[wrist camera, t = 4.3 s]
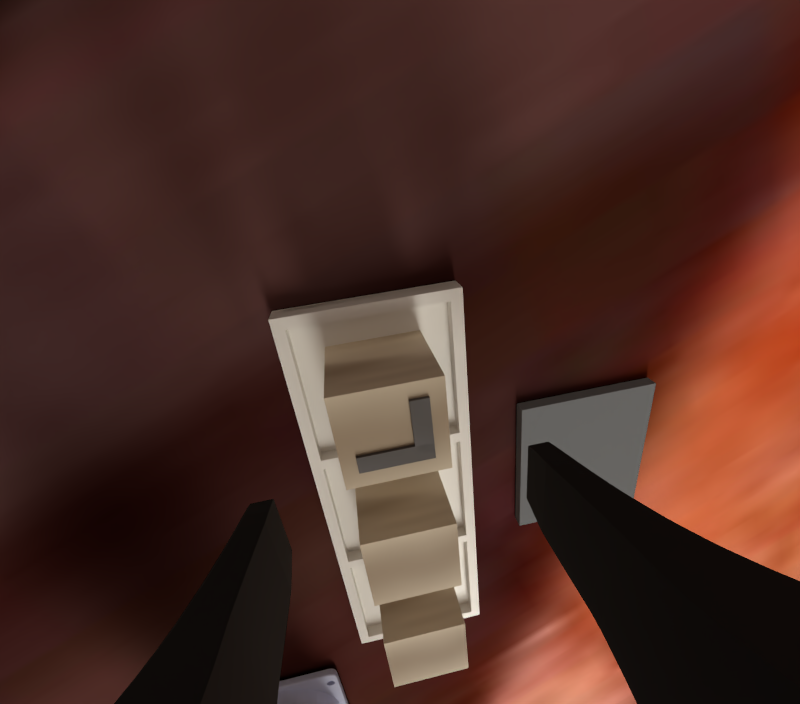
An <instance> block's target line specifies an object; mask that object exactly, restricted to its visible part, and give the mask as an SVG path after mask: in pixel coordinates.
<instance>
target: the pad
mask: <svg viewBox="0 0 800 704" xmlns="http://www.w3.org/2000/svg"><path fill="white" fill-rule="evenodd" d="M655 386H656V383H655V382H653V381H652V380H650V379H649V378H643V379H638V380H633V381H628V382H623V383H618V384H613V385H608V386H603V387H598V388H593V389H588V390H583V391H578V392H573V393H568V394H563V395H558V396H553V397H548V398H542V399H537V400H532V401H527V402H522V403H517V427H516V501H515V518H516V520H517V522H518V523H519V525H525V524H529V523H533V522H537V520H536V518H535V516H534V514H533V511H532V509H531V507H530V505H529V502H528V500H527V467H528V446H529V445H534V444H539V443H544V442H550V443H551V444H553V445H554V446H556V447H557V448H559V449H560V450H562V451H563V452H564V453H566V454H567V455H569V456H570V457H572V458H573V459H574V460H576V461H577V462H579V463H580V464H582V465H583V466H585V467H586V468H587V469H589V470H590V471H592V472H593V473H595V474H596V475H598V476H599V477H601V478H602V479H604V480H605V481H607V482H608V483H610V484H611V485H613V486H614V487H616V488H617V489H619V490H621V491H622V492H624V493H625V494H627V495H629V496H630V497H632V498H634V493H635V488H636V483H637V477H638V472H639V467H640V462H641V457H642V452H643V447H644V442H645V437H646V432H647V426H648V421H649V416H650V411H651V406H652V401H653V396H654V391H655Z"/></svg>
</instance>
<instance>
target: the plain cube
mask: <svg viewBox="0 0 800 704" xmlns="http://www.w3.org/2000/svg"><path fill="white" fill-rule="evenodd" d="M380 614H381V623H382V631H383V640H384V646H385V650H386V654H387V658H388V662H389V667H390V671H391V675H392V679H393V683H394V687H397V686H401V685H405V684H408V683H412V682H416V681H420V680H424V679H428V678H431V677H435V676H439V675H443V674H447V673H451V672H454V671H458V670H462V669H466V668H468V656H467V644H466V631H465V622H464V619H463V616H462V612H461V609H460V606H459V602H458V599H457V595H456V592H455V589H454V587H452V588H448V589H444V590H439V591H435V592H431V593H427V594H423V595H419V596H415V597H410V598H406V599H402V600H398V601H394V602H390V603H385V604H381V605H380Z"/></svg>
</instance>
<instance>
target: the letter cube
mask: <svg viewBox="0 0 800 704" xmlns="http://www.w3.org/2000/svg"><path fill="white" fill-rule="evenodd" d="M324 401H325V406H326V410H327V414H328V418H329V422H330V426H331V430H332V434H333V438H334V442H335V446H336V450H337V455H338V459H339V463H340V467H341V471H342V475H343V479H344V483H345V487H346V490H350V489H354V488H359V487H364V486H369V485H373V484H378V483H383V482H387V481H392V480H397V479H402V478H406V477H411V476H416V475H421V474H425V473H430V472H435V471H439V470H444V469H449V468H452V457H451V444H450V432H449V419H448V407H447V394H446V382H445V375H444V373H443V371H442V369H441V367H440V366H439V364H438V362H437V360H436V358H435V357H434V355H433V353H432V351H431V349H430V347H429V346H428V344H427V342H426V340H425V338H424V337H423V335H422V333H421V331H420V330H418V331H412V332H407V333H401V334H395V335H390V336H384V337H378V338H373V339H367V340H361V341H356V342H350V343H344V344H339V345H333V346H328V347H325V364H324Z"/></svg>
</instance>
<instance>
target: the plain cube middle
mask: <svg viewBox="0 0 800 704" xmlns="http://www.w3.org/2000/svg"><path fill="white" fill-rule="evenodd" d="M355 493H356V505H357V517H358V529H359V542H360V548H361V552H362V556H363V561H364V565H365V569H366V573H367V577H368V581H369V585H370V589H371V593H372V597H373V601H374V605H375V606H377V605H381V604H385V603H390V602H394V601H398V600H402V599H406V598H410V597H415V596H419V595H423V594H427V593H431V592H435V591H439V590H444V589H448V588H452V587H456V586H460V585H462V581H461V569H460V556H459V544H458V531H457V523H456V520H455V517H454V514H453V511H452V509H451V506H450V503H449V500H448V497H447V495H446V492H445V489H444V486H443V483H442V480H441V478H440V475H439V472H438V471H435V472H430V473H425V474H421V475H416V476H411V477H406V478H402V479H397V480H392V481H387V482H383V483H378V484H373V485H369V486H364V487H359V488H355Z"/></svg>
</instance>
